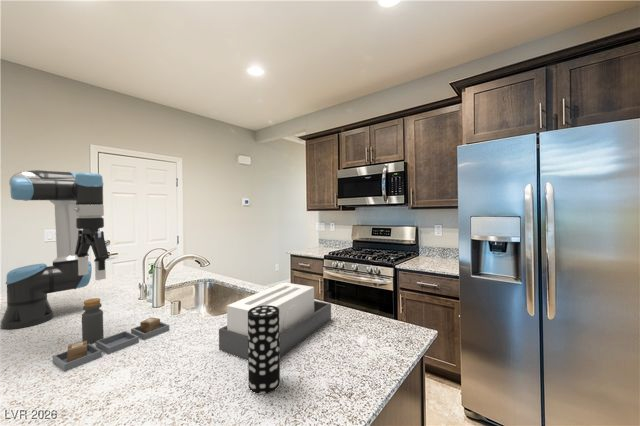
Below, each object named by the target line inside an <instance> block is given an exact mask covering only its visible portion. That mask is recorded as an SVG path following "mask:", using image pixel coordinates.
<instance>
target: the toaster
mask: <svg viewBox="0 0 640 426" xmlns="http://www.w3.org/2000/svg"><path fill="white" fill-rule="evenodd" d="M314 301H315V287H314V286H312V285H311V286H310V285H304V284H297V283H291V282H286V281H285V282H281V283H278V284H276V285H274V286H272V287H269V288H267V289H264V290H262V291H259V292H256V293H254V294H251V295H250V296H247V297H244V298H242V299H238V300H237V301H234V302H232V303H229V304H227V305H226V326H227V330H229V331H232V332H235V333H238V334H241V335H244V336H247V337H248V311H249V310H250V309H251V308H254V307H257V306H264V305H270V306H275V307H278V308H279V332H280V334H281V333H282V332H284V331H286V330H287V329H289V328H290V327H292V326H294V325H295V324H297V323H298V322H300V321H302V320H303V319H305V318H306V317H308V316H310V315H311V314H313V313H314Z"/></svg>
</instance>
